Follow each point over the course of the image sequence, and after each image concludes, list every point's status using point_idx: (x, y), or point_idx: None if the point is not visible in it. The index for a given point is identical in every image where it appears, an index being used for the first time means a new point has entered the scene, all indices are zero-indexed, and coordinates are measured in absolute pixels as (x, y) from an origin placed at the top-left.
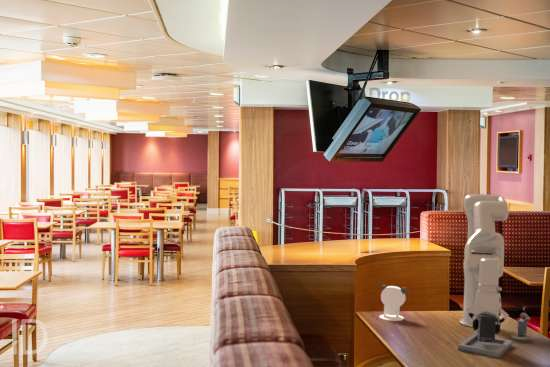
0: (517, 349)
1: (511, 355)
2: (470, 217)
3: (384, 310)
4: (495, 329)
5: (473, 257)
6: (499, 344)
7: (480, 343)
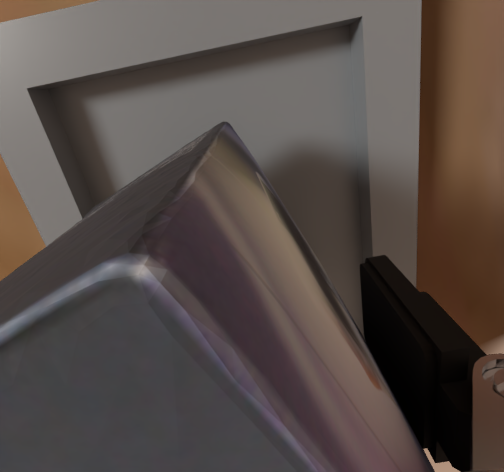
0: (464, 37)
1: (451, 245)
2: None
3: None
4: (391, 384)
5: None
6: (303, 89)
7: None
